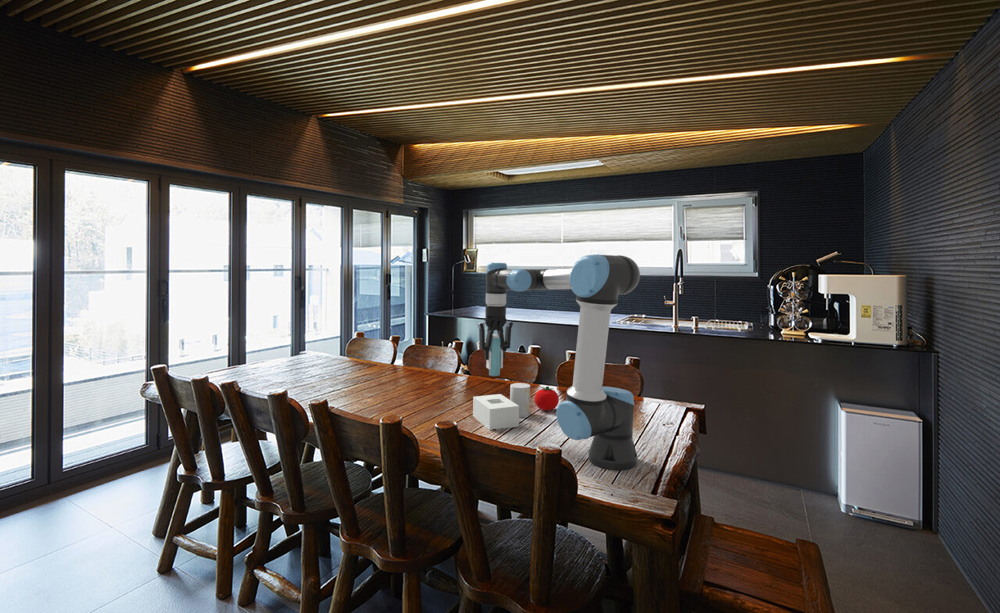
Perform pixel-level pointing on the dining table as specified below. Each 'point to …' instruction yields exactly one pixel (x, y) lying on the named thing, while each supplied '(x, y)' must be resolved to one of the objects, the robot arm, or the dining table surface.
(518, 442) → the dining table surface
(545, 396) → the tomato
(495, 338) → the peg
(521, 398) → the white cylinder
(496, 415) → the socket
